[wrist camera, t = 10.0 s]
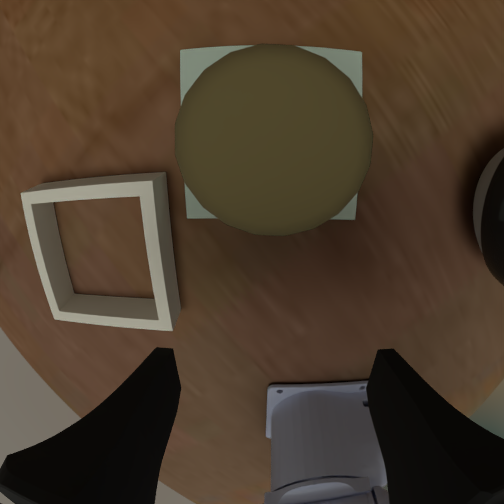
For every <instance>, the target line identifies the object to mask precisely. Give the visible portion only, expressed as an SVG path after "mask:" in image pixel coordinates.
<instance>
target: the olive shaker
mask: <svg viewBox="0 0 504 504" xmlns="http://www.w3.org/2000/svg"><path fill="white" fill-rule="evenodd" d="M372 143H373V132H372V127H371V123H370V118H369V114H368V110H367V106H366V104H365V102H364V100H363V99H362V97H361V95H360V94H359V92H358V91H357V89H356V87H355V86H354V84H353V83H352V81H351V79H350V78H349V77H348V76H347V75H345V74H344V73H343V72H342V71H341V70H339V69H338V68H337V67H336V66H335V65H333V64H332V63H331V62H330V61H329V60H327V59H326V58H325V57H322V56H320V55H317V54H315V53H312V52H310V51H307V50H305V49H302V48H300V47H297V46H294V45H279V44H258V45H254V46H251V47H247V48H243V49H240V50H236V51H233V52H230V53H228V54H227V55H225V56H224V57H222V58H221V59H219V60H218V61H216V62H215V63H213V64H212V65H210V66H209V67H207V68H206V69H204V71H203V72H202V73H201V74H200V76H199V77H198V78H197V80H196V81H195V82H194V83H193V85H192V86H191V87H190V89H189V90H188V91H187V93H186V94H185V96H184V99H183V102H182V105H181V108H180V111H179V114H178V117H177V120H176V123H175V156H176V159H177V162H178V165H179V168H180V171H181V174H182V177H183V179H184V182H185V184H186V186H187V187H188V188H189V190H190V191H191V192H192V194H193V195H194V196H195V198H196V199H197V200H198V202H199V203H200V204H201V206H202V207H203V208H204V209H206V210H207V211H208V212H210V213H211V214H213V215H214V216H215V217H217V218H218V219H219V220H221V221H222V222H224V223H225V224H226V225H229V226H231V227H234V228H237V229H240V230H243V231H246V232H249V233H252V234H254V235H272V236H287V235H291V234H295V233H299V232H303V231H307V230H311V229H314V228H316V227H318V226H319V225H321V224H323V223H324V222H326V221H328V220H329V219H331V218H333V217H334V216H336V215H338V214H339V213H340V212H341V211H342V210H343V209H344V207H345V206H346V205H347V204H348V203H349V202H350V201H351V200H352V198H353V197H354V196H355V195H356V194H357V193H358V192H359V189H360V187H361V185H362V183H363V180H364V178H365V176H366V174H367V171H368V169H369V167H370V163H371V153H372Z"/></svg>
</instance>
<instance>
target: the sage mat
mask: <svg viewBox="0 0 504 504" xmlns="http://www.w3.org/2000/svg"><path fill="white" fill-rule="evenodd" d="M251 46H254V45H247V46H222V47H207V48H195V49H185V50H180V81H181V105H182V102H183V99H184V96H185V94H186V93H187V91H188V90H189V89H190V87H191V86H192V85H193V83H194V82H195V81H196V80H197V78H198V77H199V76H200V74H201V73H202V72H203V71H204V69H206V68H207V67H209V66H210V65H212V64H213V63H215V62H216V61H218V60H219V59H221V58H222V57H224V56H225V55H227V54H228V53H230V52H233V51H236V50H240V49H243V48H247V47H251ZM297 47H300V48H302V49H305V50H307V51H310V52H312V53H315V54H317V55H320V56H322V57H325V58H326V59H327V60H329V61H330V62H331V63H332V64H333V65H335V66H336V67H337V68H338V69H339V70H341V71H342V72H343V73H344V74H345V75H347V76H348V77H349V78H350V79H351V81H352V83H353V84H354V86H355V87H356V89H357V91H358V92H359V94H360V95H361V97H362V52H358V51H350V50H341V49H331V48H319V47H305V46H297ZM357 194H358V193H357ZM357 194H356V195H355V196H354V197H353V198H352V200H351V201H350V202H349V203H348V204H347V205H346V206H345V207H344V209H343V210H342V211H341V212H340V213H339V214H338V215H336V216H334V217H333V218H331V219H341V220H355V216H356V205H357ZM185 197H186V211H187V218H217V217H215V216H214V215H213V214H211V213H210V212H208V211H207V210H206V209H204V208H203V207H202V206H201V204H200V203H199V202H198V200H197V199H196V198H195V196H194V195H193V194H192V192H191V191H190V190H189V188H188V187H187V186H186V184H185Z"/></svg>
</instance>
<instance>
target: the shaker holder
mask: <svg viewBox="0 0 504 504" xmlns="http://www.w3.org/2000/svg"><path fill="white" fill-rule="evenodd" d="M134 196H140V202H141V210H142V219H143V226H144V234H145V241H146V248H147V255H148V261H149V268H150V274H151V280H152V286H153V291H154V297H155V299H149V298H130V297H114V296H99V295H85V294H74V290H73V287H72V283H71V280H70V276H69V272H68V268H67V265H66V261H65V257H64V252H63V248H62V244H61V239H60V235H59V230H58V225H57V220H56V215H55V209H54V204H53V202H59V201H71V200H84V199H99V198H115V197H134ZM21 198H22V203H23V208H24V213H25V218H26V223H27V228H28V232H29V236H30V240H31V245H32V249H33V252H34V256H35V260H36V264H37V267H38V271H39V274H40V277H41V281H42V284H43V287H44V290H45V293H46V296H47V299H48V302H49V305H50V308H51V311H52V314H53V317H54V319H57V320H64V321H72V322H80V323H88V324H97V325H106V326H116V327H126V328H138V329H150V330H164V331H173V329H174V327H175V324H176V321H177V319H178V316H179V314H180V311H181V305H180V298H179V291H178V284H177V276H176V268H175V260H174V252H173V243H172V234H171V224H170V214H169V203H168V191H167V178H166V172H156V173H140V174H126V175H114V176H103V177H92V178H83V179H73V180H65V181H57V182H49V183H42V184H40V185H37V186H35V187H33V188H31V189H28V190H26V191H24V192H22V193H21Z"/></svg>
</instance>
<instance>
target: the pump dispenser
mask: <svg viewBox="0 0 504 504" xmlns="http://www.w3.org/2000/svg"><path fill="white" fill-rule="evenodd" d="M473 222H474V229H475V234H476V238H477V241H478V244H479V246H480V249H481V251H482V253H483V257H484V260H485V263H486V265H487V267H488V269H489V271H490V272H491V274H492V275H493V276H494V277H495V278H496V279H497V280H498V281H499V282H500V283H501V284H502V285H503V286H504V148H503V149H502V150H500V151H499V152H498V153H497V154H496V155H495V156H494V157H493V158H492V159H491V160H490V161H489V163H488V164H487V165H486V167H485V169H484V170H483V172H482V174H481V176H480V179H479V181H478V184H477V188H476V191H475V196H474V203H473Z"/></svg>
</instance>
